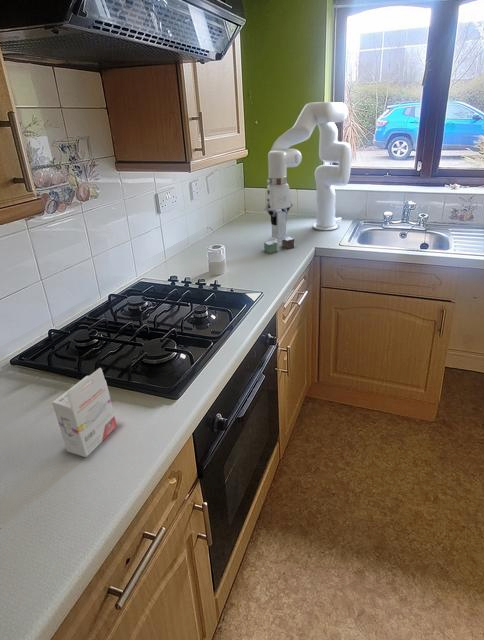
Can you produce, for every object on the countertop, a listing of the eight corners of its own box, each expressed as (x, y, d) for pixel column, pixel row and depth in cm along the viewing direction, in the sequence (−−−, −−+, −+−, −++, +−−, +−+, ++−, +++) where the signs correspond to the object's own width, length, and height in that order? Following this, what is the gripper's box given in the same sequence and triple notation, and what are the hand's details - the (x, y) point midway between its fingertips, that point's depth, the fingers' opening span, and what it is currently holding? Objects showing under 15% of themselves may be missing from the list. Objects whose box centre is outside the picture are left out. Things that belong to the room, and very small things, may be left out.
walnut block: (289, 245, 186) (289, 236, 185) (294, 247, 183) (294, 238, 182) (282, 246, 184) (281, 238, 183) (287, 249, 181) (286, 240, 180)
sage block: (271, 249, 182) (271, 240, 180) (276, 251, 179) (276, 243, 177) (264, 251, 180) (264, 242, 178) (269, 253, 177) (269, 244, 175)
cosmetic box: (286, 239, 178) (287, 212, 174) (278, 240, 176) (278, 213, 172) (279, 236, 183) (279, 209, 179) (270, 237, 181) (270, 210, 177)
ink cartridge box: (98, 421, 84) (83, 361, 78) (117, 427, 82) (104, 366, 77) (65, 451, 77) (46, 388, 71) (85, 459, 75) (67, 394, 69)
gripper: (265, 185, 163) (267, 229, 170) (299, 180, 172) (299, 222, 178) (255, 182, 169) (257, 225, 176) (288, 178, 177) (289, 218, 184)
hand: (278, 223), depth 177 cm, fingers closed on cosmetic box, 4 cm apart
